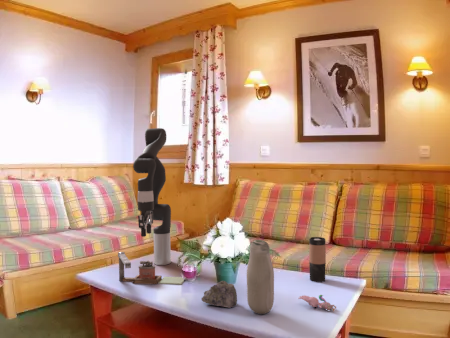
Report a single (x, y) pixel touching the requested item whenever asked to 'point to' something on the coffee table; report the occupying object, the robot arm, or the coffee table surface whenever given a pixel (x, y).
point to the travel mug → (317, 259)
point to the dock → (136, 279)
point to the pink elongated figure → (317, 302)
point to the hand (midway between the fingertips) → (146, 234)
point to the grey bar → (124, 259)
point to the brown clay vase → (260, 278)
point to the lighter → (146, 270)
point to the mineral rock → (221, 295)
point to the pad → (172, 280)
